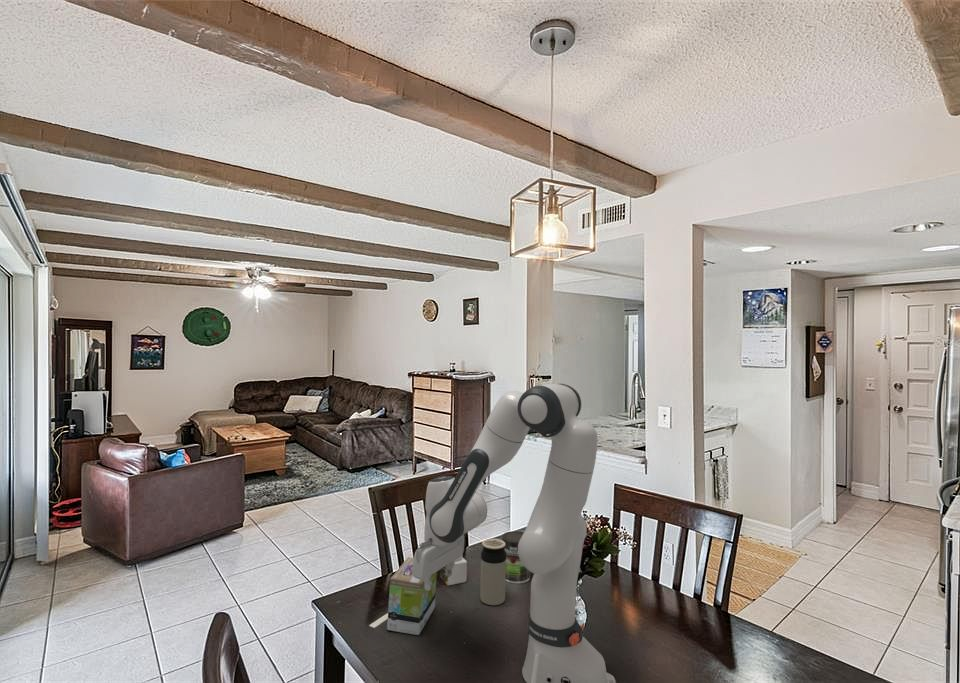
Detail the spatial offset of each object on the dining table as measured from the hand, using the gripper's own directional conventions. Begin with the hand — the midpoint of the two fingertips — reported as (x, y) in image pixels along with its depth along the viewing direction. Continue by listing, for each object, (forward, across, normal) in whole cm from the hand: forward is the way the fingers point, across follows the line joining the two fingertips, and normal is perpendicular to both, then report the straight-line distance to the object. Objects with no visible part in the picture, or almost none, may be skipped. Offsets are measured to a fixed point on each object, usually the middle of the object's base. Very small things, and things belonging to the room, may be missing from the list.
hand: (438, 582), depth 138 cm
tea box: (+14, 0, +9) cm, 16 cm away
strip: (+13, -1, +16) cm, 21 cm away
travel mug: (+14, +23, -5) cm, 27 cm away
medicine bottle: (+14, +27, +13) cm, 33 cm away
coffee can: (+14, +41, -4) cm, 43 cm away
